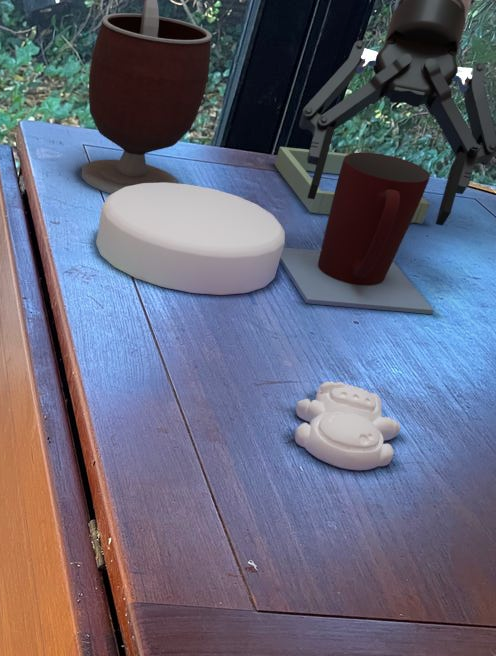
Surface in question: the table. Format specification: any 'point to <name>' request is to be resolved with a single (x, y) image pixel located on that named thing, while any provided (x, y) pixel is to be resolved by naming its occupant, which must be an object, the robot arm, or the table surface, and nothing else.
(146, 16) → the mate gourd
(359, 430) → the astronaut figurine
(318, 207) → the green rectangular frame
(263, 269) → the container
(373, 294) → the mat
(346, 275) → the mug
